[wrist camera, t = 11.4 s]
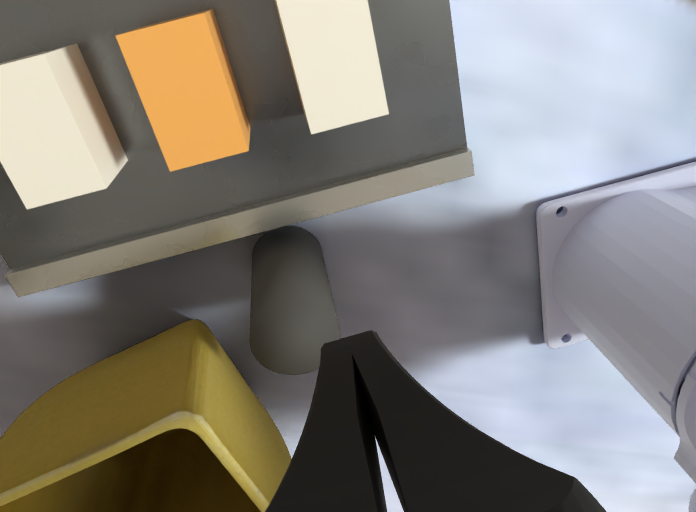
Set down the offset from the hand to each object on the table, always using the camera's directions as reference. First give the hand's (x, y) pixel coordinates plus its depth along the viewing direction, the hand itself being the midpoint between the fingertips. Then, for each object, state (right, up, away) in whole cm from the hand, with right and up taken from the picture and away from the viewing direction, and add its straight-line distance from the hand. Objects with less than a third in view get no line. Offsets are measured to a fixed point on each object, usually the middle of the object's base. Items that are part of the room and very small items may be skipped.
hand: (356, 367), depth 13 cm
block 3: (-1, +10, +5) cm, 11 cm away
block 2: (-5, +9, +5) cm, 11 cm away
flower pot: (-8, -3, +12) cm, 15 cm away
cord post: (-3, +3, +10) cm, 10 cm away
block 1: (-10, +8, +5) cm, 13 cm away
